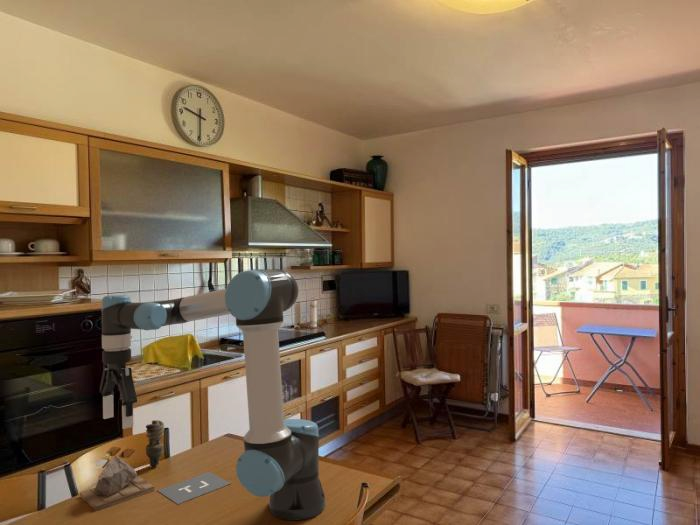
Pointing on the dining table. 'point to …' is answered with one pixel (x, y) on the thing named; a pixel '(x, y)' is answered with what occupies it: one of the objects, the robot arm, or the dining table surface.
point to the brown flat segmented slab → (117, 494)
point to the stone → (114, 477)
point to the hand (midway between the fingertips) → (117, 422)
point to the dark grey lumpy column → (154, 441)
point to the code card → (193, 487)
